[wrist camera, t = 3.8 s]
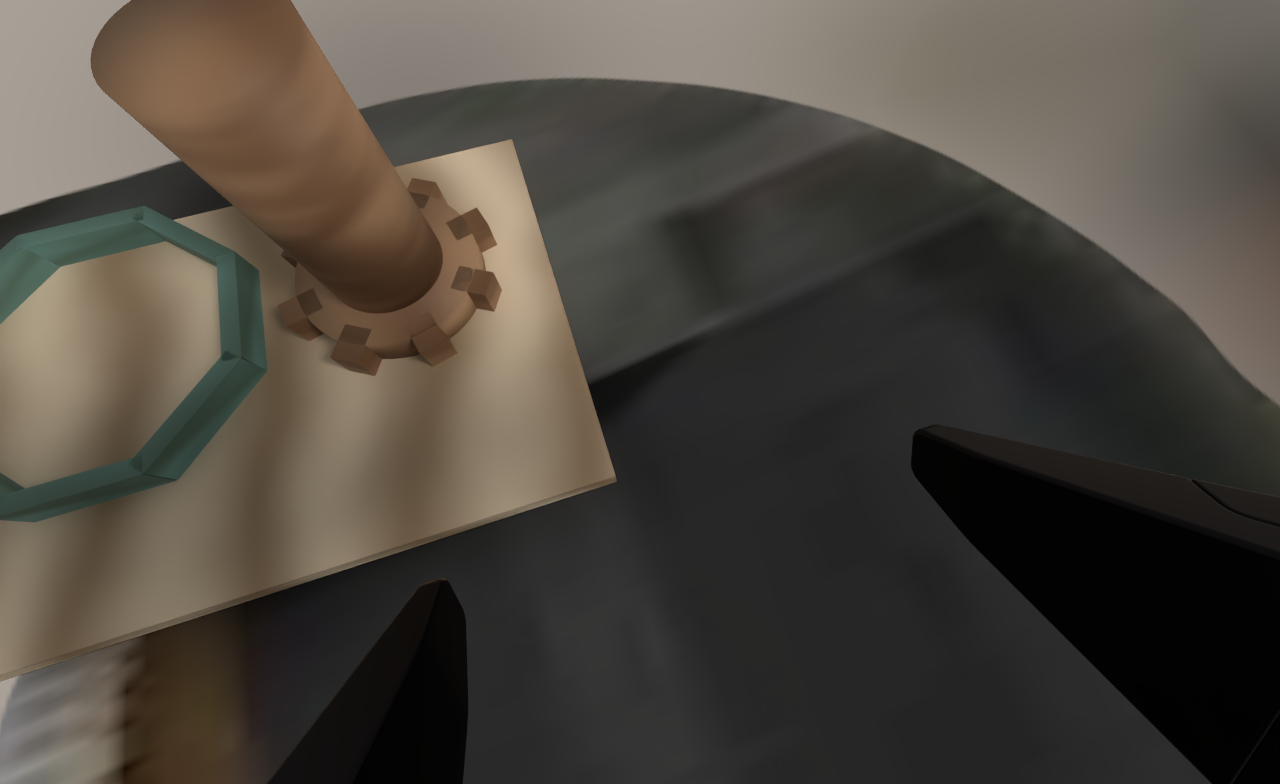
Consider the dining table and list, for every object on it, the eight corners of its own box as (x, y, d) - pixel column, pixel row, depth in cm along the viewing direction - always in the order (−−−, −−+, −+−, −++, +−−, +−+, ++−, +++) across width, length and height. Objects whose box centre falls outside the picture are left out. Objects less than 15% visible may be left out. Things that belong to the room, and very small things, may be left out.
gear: (344, 415, 21) (34, 261, 10) (269, 256, 24) (-43, -3, 13) (538, 308, 23) (450, 80, 12) (449, 171, 25) (309, -119, 15)
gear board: (-51, 698, 19) (-174, 722, 16) (-3, 288, 25) (-86, 252, 22) (616, 481, 22) (613, 469, 19) (518, 160, 28) (504, 115, 25)
